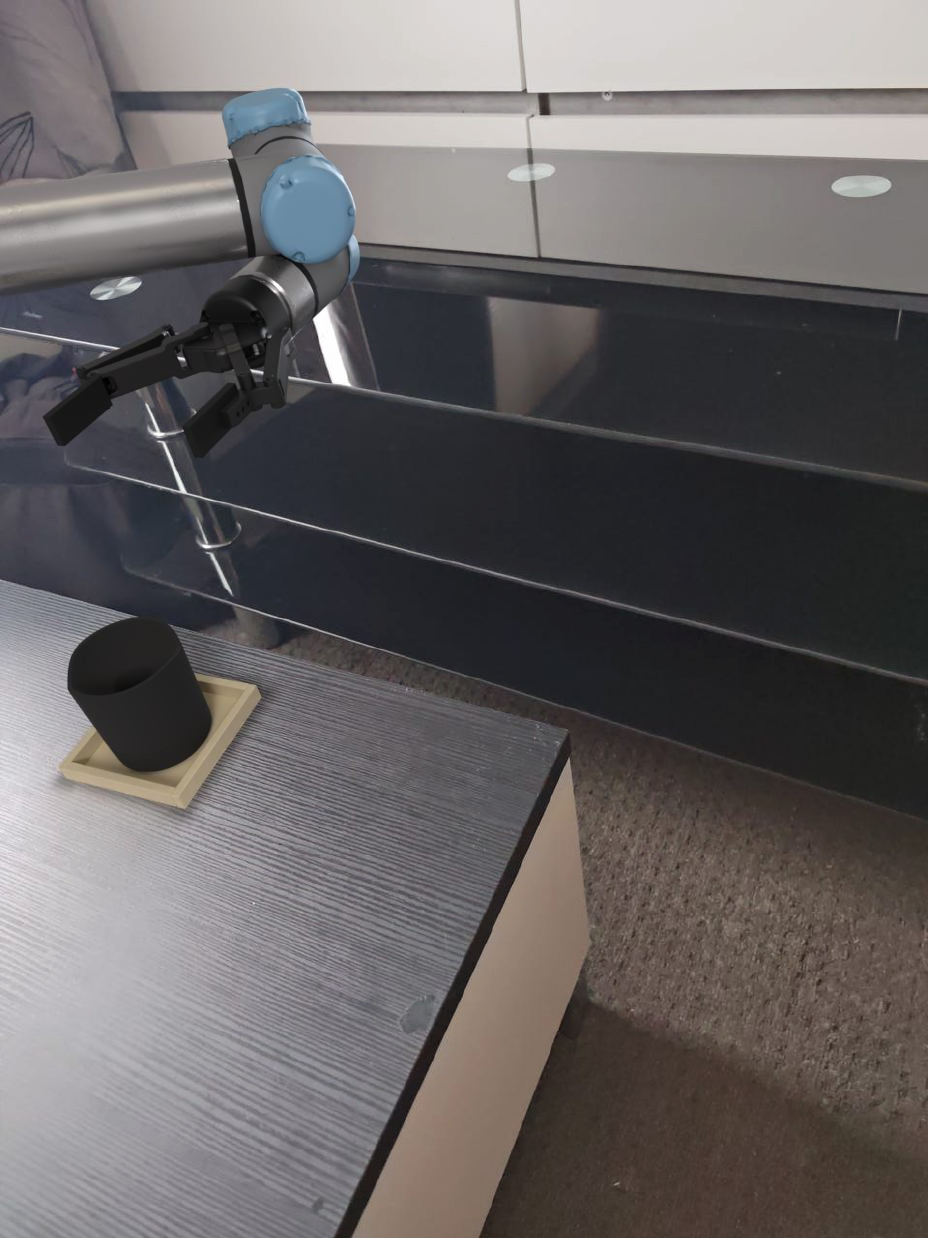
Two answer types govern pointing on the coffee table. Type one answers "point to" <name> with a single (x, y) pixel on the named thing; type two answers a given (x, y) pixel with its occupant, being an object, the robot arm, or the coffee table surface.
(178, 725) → the pen holder
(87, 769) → the pad
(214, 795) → the coffee table surface
